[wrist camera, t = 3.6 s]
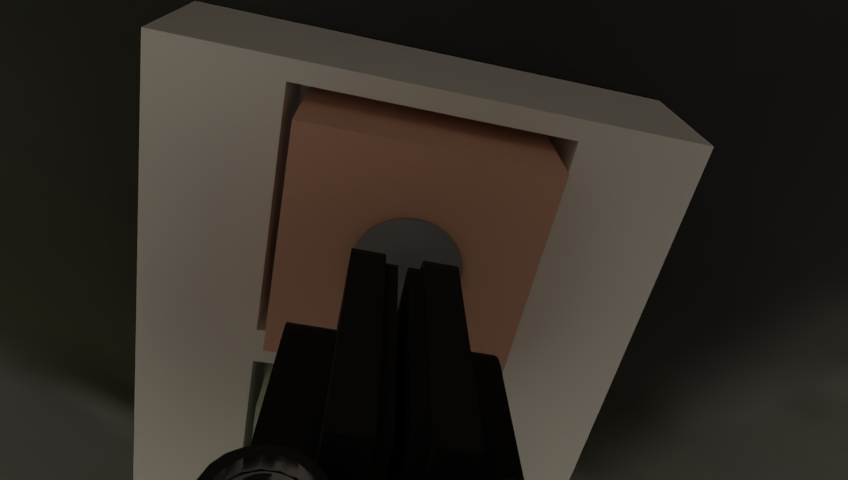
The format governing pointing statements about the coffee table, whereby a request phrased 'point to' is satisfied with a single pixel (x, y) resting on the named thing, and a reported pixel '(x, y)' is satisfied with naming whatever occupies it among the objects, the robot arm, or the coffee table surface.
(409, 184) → the terracotta key
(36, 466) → the coffee table surface
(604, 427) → the coffee table surface
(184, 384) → the keypad
